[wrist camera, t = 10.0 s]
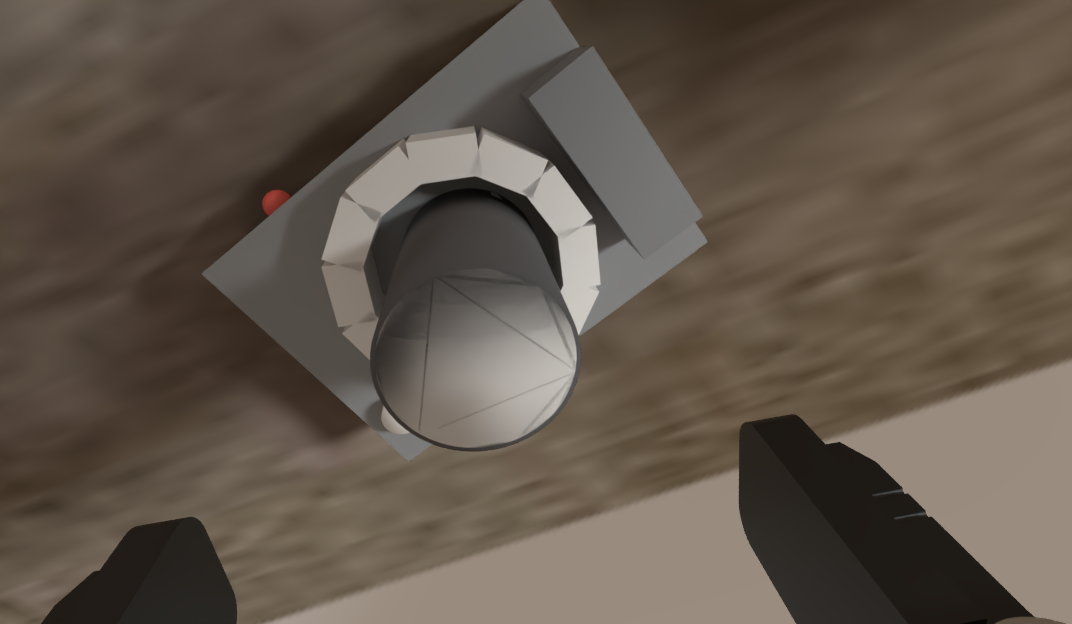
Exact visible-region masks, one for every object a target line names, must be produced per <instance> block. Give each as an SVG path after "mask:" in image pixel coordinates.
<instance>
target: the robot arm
mask: <svg viewBox="0 0 1072 624" xmlns="http://www.w3.org/2000/svg"><path fill="white" fill-rule="evenodd" d="M739 510H740V516H741V520H742V524H743V528H744V531H745V534H746V536H747V539H748V541H749V543H750V545H751V547H752V549H753V551H754V552H755V554H756V556H757V557H758V559H759V561H760V563H761V564H762V566H763V568H764V569H765V571H766V573H767V575H768V576H769V578H770V580H771V581H772V583H773V585H774V586H775V588H776V590H777V592H778V593H779V595H780V597H781V598H782V600H783V602H784V604H785V605H786V607H787V608H788V610H789V612H790V614H791V615H792V617H793V619H794V621H795V622H796V624H1065V623H1062V622H1058V621H1054V620H1050V619H1044V618H1037V617H1034V616H1033V615H1032V614H1031V613H1029V612H1028V611H1027V610H1026V609H1025V608H1024V607H1023V606H1022V605H1021V604H1020V603H1019V602H1018V601H1017V600H1016V599H1015V598H1014V597H1013V596H1012V595H1011V594H1010V593H1009V592H1008V591H1007V590H1006V589H1005V588H1004V587H1003V586H1002V585H1001V584H1000V583H999V582H998V581H997V580H996V579H994V577H992V576H991V574H989V573H988V572H987V571H986V570H985V569H984V568H983V567H982V566H981V565H980V564H979V563H978V562H977V561H976V560H975V559H974V558H973V557H972V556H971V555H970V554H969V553H968V552H967V551H966V550H965V549H964V548H963V547H962V546H961V545H960V544H959V543H958V542H957V541H956V540H955V539H954V538H953V537H952V536H951V535H950V534H949V533H948V532H947V531H945V530H944V528H943V527H941V525H940V524H939V523H938V522H937V521H935V519H934V518H932V517H928V516H927V515H926V511H925V510H924V509H923V508H922V507H921V506H920V505H919V504H918V503H917V502H916V501H915V500H914V499H913V498H912V497H911V496H910V495H909V494H904V492H903V490H902V487H901V486H900V485H899V484H898V483H897V482H896V481H895V480H894V479H893V478H892V477H891V476H890V475H889V474H888V473H886V471H885V470H884V469H882V468H881V466H880V465H879V464H878V463H876V462H875V461H873V460H872V459H870V458H868V457H866V456H864V455H862V454H861V453H859V452H857V451H855V450H853V449H851V448H849V447H848V446H846V445H844V444H842V443H840V442H838V443H831V444H826V445H825V443H824V442H823V441H822V440H821V439H820V438H819V437H818V436H817V435H816V434H815V433H814V432H813V431H812V430H811V428H810V427H809V426H808V425H807V424H806V423H805V422H804V421H803V420H802V419H801V418H800V417H798V416H797V415H794V414H792V415H786V416H780V417H774V418H768V419H763V420H757V421H751V422H745V423H743V425H742V426H741V429H740V438H739ZM236 622H237V604H236V598H235V594H234V592H233V589H232V587H231V585H230V582H229V580H228V578H227V576H226V574H225V571H224V569H223V567H222V565H221V563H220V560H219V558H218V556H217V554H216V552H215V549H214V547H213V545H212V543H211V541H210V538H209V536H208V534H207V532H206V530H205V528H204V526H203V524H202V523H201V522H200V521H199V520H198V519H197V518H194V517H187V518H181V519H175V520H169V521H164V522H158V523H152V524H146V525H141V526H136V527H134V528H132V529H131V530H130V531H128V532H127V534H126V535H125V536H124V537H123V539H122V540H121V541H120V543H119V544H118V546H117V547H116V548H115V550H114V551H113V553H112V554H111V555H110V557H109V558H108V560H107V561H106V562H105V564H104V565H103V567H102V568H101V569H100V571H94V572H93V573H92V574H90V575H89V576H88V577H87V578H86V579H85V580H84V581H82V582H81V583H80V584H79V585H78V586H77V587H76V588H74V589H73V590H72V591H71V592H70V593H69V594H68V595H66V596H65V597H64V598H63V599H62V600H61V601H60V602H58V603H57V604H56V605H55V606H54V607H53V609H52V610H51V611H50V613H49V614H48V615H47V617H46V618H45V619H44V620H43V622H42V623H41V624H236Z"/></svg>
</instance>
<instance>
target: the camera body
mask: <svg viewBox="0 0 1072 624" xmlns="http://www.w3.org/2000/svg"><path fill="white" fill-rule="evenodd" d="M467 188H473V189H482V190H487V191H490V192H493V193H496V194H498V195H501V196H503V197H505V198H506V199H508V200H509V201H511V202H512V203H513V204H514V205H516V206H517V207H518V208H519V209H520V210H521V211H522V212H523V214H524V215H525V216H526V218H527V219H528V221H529V222H530V224H531V226H532V228H533V230H534V233H535V235H536V237H537V239H538V242H539V244H540V246H541V248H542V251H543V253H544V255H545V257H546V260H547V262H548V264H549V266H550V269H551V271H552V273H553V275H554V278H555V280H556V282H557V284H558V287H559V289H560V291H561V294H562V296H563V298H564V300H565V303H566V305H567V307H568V309H569V312H570V314H571V316H572V318H573V321H574V323H575V326H576V329H577V332H578V335H579V336H580V335H582V334H583V333H584V332H586V331H587V330H589V329H590V328H591V327H593V326H594V325H595V324H597V323H598V322H599V321H601V320H602V319H603V318H605V317H606V316H608V315H609V314H610V313H612V312H613V311H614V310H616V309H617V308H618V307H620V306H621V305H623V304H624V303H625V302H627V301H628V300H629V299H631V298H632V297H633V296H635V295H636V294H638V293H639V292H640V291H642V290H643V289H644V288H646V287H647V286H648V285H650V284H651V283H652V282H654V281H655V280H657V279H658V278H659V277H661V276H662V275H663V274H665V273H666V272H667V271H669V270H670V269H672V268H673V267H674V266H676V265H677V264H678V263H680V262H681V261H682V260H684V259H685V258H687V257H688V256H689V255H691V254H692V253H693V252H695V251H696V250H697V249H699V248H700V247H702V246H703V245H704V244H706V243H707V242H708V241H707V240H706V238H705V237H704V235H703V234H702V232H701V231H700V229H699V228H698V226H697V225H696V223H695V222H696V221H697V220H699V219H700V218H701V217H703V216H702V214H701V212H700V211H699V209H698V208H697V206H696V205H695V203H694V202H693V200H692V199H691V197H690V195H689V194H688V192H687V191H686V189H685V188H684V186H683V185H682V183H681V182H680V180H679V178H678V177H677V175H676V174H675V172H674V171H673V169H672V168H671V166H670V164H669V163H668V161H667V160H666V158H665V157H664V155H663V154H662V152H661V151H660V149H659V147H658V146H657V144H656V143H655V141H654V140H653V138H652V137H651V135H650V134H649V132H648V130H647V129H646V127H645V126H644V124H643V123H642V121H641V120H640V118H639V116H638V115H637V113H636V112H635V110H634V109H633V107H632V106H631V104H630V103H629V101H628V99H627V98H626V96H625V95H624V93H623V92H622V90H621V89H620V87H619V86H618V84H617V82H616V81H615V79H614V78H613V76H612V75H611V73H610V72H609V70H608V68H607V67H606V65H605V64H604V62H603V61H602V59H601V58H600V56H599V55H598V53H597V51H596V50H595V48H594V47H593V46H585V47H580V46H579V45H578V43H577V42H576V40H575V38H574V37H573V35H572V34H571V32H570V31H569V29H568V28H567V26H566V25H565V23H564V22H563V20H562V19H561V17H560V16H559V14H558V13H557V11H556V9H555V8H554V6H553V5H552V3H551V2H550V0H523V1H522V2H521V3H519V4H518V5H517V6H516V7H515V8H513V9H512V10H511V11H510V12H509V13H508V14H506V15H505V16H504V17H503V18H502V19H501V20H499V21H498V22H497V23H496V24H495V25H493V26H492V27H491V28H490V29H489V30H488V31H486V32H485V33H484V34H483V35H482V36H481V37H479V38H478V39H477V40H476V41H475V42H473V43H472V44H471V45H470V46H469V47H468V48H466V49H465V50H464V51H463V52H462V53H461V54H459V55H458V56H457V57H456V58H455V59H453V60H452V61H451V62H450V63H449V64H448V65H446V66H445V67H444V68H443V69H442V70H441V71H439V72H438V73H437V74H436V75H435V76H433V77H432V78H431V79H430V80H429V81H428V82H426V83H425V84H424V85H423V86H422V87H421V88H419V89H418V90H417V91H416V92H415V93H413V94H412V95H411V96H410V97H409V98H408V99H406V100H405V101H404V102H403V103H402V104H400V105H399V106H398V107H397V108H396V109H395V110H393V111H392V112H391V113H390V114H389V115H388V116H386V117H385V118H384V119H383V120H382V121H380V122H379V123H378V124H377V125H376V126H375V127H373V128H372V129H371V130H370V131H369V132H368V133H366V134H365V135H364V136H363V137H362V138H360V139H359V140H358V141H357V142H356V143H355V144H353V145H352V146H351V147H350V148H349V149H348V150H346V151H345V152H344V153H343V154H342V155H340V156H339V157H338V158H337V159H336V160H335V161H333V162H332V163H331V164H330V165H329V166H328V167H326V168H325V169H324V170H323V171H322V172H320V173H319V174H318V175H317V176H316V177H315V178H313V179H312V180H311V181H310V182H309V183H307V184H306V185H305V186H304V187H303V188H302V189H300V190H299V191H298V192H297V193H296V194H295V195H293V196H292V197H291V196H290V195H289V194H288V193H286V192H285V191H282V190H272V191H270V192H268V193H267V194H266V195H265V196H264V198H263V201H262V206H263V209H264V211H265V213H266V214H267V215H268V216H269V217H267V218H266V219H265V220H264V221H263V222H262V223H260V224H259V225H258V226H257V227H256V228H255V229H253V230H252V231H251V232H250V233H249V234H247V235H246V236H245V237H244V238H243V239H242V240H240V241H239V242H238V243H237V244H236V245H235V246H233V247H232V248H231V249H230V250H229V251H227V252H226V253H225V254H224V255H223V256H222V257H220V258H219V259H218V260H217V261H216V262H215V263H213V264H212V265H211V266H210V267H209V268H207V269H206V270H205V271H204V272H203V273H202V275H203V276H204V277H205V278H206V279H207V280H209V281H210V282H211V283H212V284H213V285H214V286H215V287H216V288H217V289H219V290H220V291H221V292H222V293H223V294H224V295H225V296H226V297H227V298H228V299H230V300H231V301H232V302H233V303H234V304H235V305H236V306H237V307H238V308H240V309H241V310H242V311H243V312H244V313H245V314H246V315H247V316H248V317H249V318H251V319H252V320H253V321H254V322H255V323H256V324H257V325H258V326H259V327H261V328H262V329H263V330H264V331H265V332H266V333H267V334H268V335H269V336H270V337H272V338H273V339H274V340H275V341H276V342H277V343H278V344H279V345H280V346H282V347H283V348H284V349H285V350H286V351H287V352H288V353H289V354H290V355H291V356H293V357H294V358H295V359H296V360H297V361H298V362H299V363H300V364H301V365H303V366H304V367H305V368H306V369H307V370H308V371H309V372H310V373H311V374H312V375H314V376H315V377H316V378H317V379H318V380H319V381H320V382H321V383H322V384H324V385H325V386H326V387H327V388H328V389H329V390H330V391H331V392H332V393H333V394H335V395H336V396H337V397H338V398H339V399H340V400H341V401H342V402H343V403H345V404H346V405H347V406H348V407H349V408H350V409H351V410H352V411H353V412H354V413H356V414H357V415H358V416H359V417H360V418H361V419H362V420H363V421H364V422H366V423H367V424H368V425H369V426H370V427H371V428H372V429H373V430H374V431H375V432H377V433H378V434H379V435H380V436H381V437H382V438H383V439H384V440H385V441H387V442H388V443H389V444H390V445H391V446H392V447H393V448H394V449H395V450H396V451H398V452H399V453H400V454H401V455H402V456H403V457H404V458H405V459H406V460H408V461H410V460H412V459H413V458H414V457H416V456H417V455H418V454H420V453H421V452H422V451H424V450H425V449H427V448H428V447H429V446H431V445H432V444H431V443H428V442H426V441H424V440H422V439H420V438H418V437H416V436H415V435H413V434H412V433H410V432H409V431H407V430H406V429H405V428H403V427H402V426H401V425H400V424H399V423H397V421H396V420H395V419H394V418H393V417H392V416H391V415H390V414H389V413H388V411H387V410H386V408H385V407H384V405H383V404H382V402H381V400H380V398H379V396H378V394H377V392H376V390H375V387H374V384H373V381H372V375H371V370H370V351H371V343H372V339H373V336H374V332H375V329H376V326H377V322H378V319H379V316H380V313H381V310H382V307H383V303H384V300H385V297H386V294H387V291H388V288H389V284H390V281H391V278H392V275H393V272H394V268H395V265H396V262H397V259H398V256H399V253H400V249H401V246H402V243H403V240H404V237H405V233H406V231H407V228H408V226H409V224H410V222H411V221H412V219H413V217H414V216H415V215H416V213H417V212H418V211H419V210H420V209H421V208H422V207H423V206H424V205H425V204H426V203H428V202H429V201H431V200H432V199H433V198H435V197H437V196H439V195H441V194H443V193H446V192H449V191H453V190H458V189H467Z"/></svg>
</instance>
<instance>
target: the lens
mask: <svg viewBox="0 0 1072 624" xmlns="http://www.w3.org/2000/svg"><path fill="white" fill-rule="evenodd" d="M580 364H581V346H580V340H579V335H578V332H577V329H576V326H575V323H574V321H573V318H572V316H571V314H570V312H569V309H568V307H567V305H566V303H565V300H564V298H563V296H562V294H561V291H560V289H559V287H558V284H557V282H556V280H555V278H554V275H553V273H552V271H551V269H550V266H549V264H548V262H547V260H546V257H545V255H544V253H543V251H542V248H541V246H540V244H539V242H538V239H537V237H536V235H535V233H534V230H533V228H532V226H531V224H530V222H529V221H528V219H527V218H526V216H525V215H524V214H523V212H522V211H521V210H520V209H519V208H518V207H517V206H516V205H514V204H513V203H512V202H511V201H509V200H508V199H506V198H505V197H503V196H501V195H498V194H496V193H493V192H490V191H487V190H482V189H473V188H467V189H458V190H453V191H449V192H446V193H443V194H441V195H439V196H437V197H435V198H433V199H432V200H431V201H429V202H428V203H426V204H425V205H424V206H423V207H422V208H421V209H420V210H419V211H418V212H417V213H416V215H415V216H414V217H413V219H412V221H411V222H410V224H409V226H408V228H407V231H406V233H405V237H404V240H403V243H402V246H401V249H400V253H399V256H398V259H397V262H396V265H395V268H394V272H393V275H392V278H391V281H390V284H389V288H388V291H387V294H386V297H385V300H384V303H383V307H382V310H381V313H380V316H379V319H378V322H377V326H376V329H375V332H374V336H373V339H372V343H371V351H370V370H371V375H372V381H373V384H374V387H375V390H376V392H377V394H378V396H379V398H380V400H381V402H382V404H383V405H384V407H385V408H386V410H387V411H388V413H389V414H390V415H391V416H392V417H393V418H394V419H395V420H396V421H397V423H399V424H400V425H401V426H402V427H403V428H405V429H406V430H407V431H409V432H410V433H412V434H413V435H415V436H416V437H418V438H420V439H422V440H424V441H426V442H428V443H431V444H434V445H436V446H439V447H443V448H447V449H452V450H459V451H488V450H495V449H499V448H504V447H507V446H510V445H513V444H516V443H518V442H521V441H523V440H525V439H527V438H529V437H531V436H532V435H534V434H536V433H537V432H539V431H540V430H541V429H543V428H544V427H545V426H547V425H548V424H549V423H550V422H551V421H552V420H553V419H554V418H555V417H556V416H557V415H558V414H559V413H560V411H561V410H562V409H563V408H564V406H565V405H566V403H567V402H568V400H569V398H570V397H571V395H572V393H573V390H574V388H575V386H576V383H577V379H578V376H579V372H580Z"/></svg>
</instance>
